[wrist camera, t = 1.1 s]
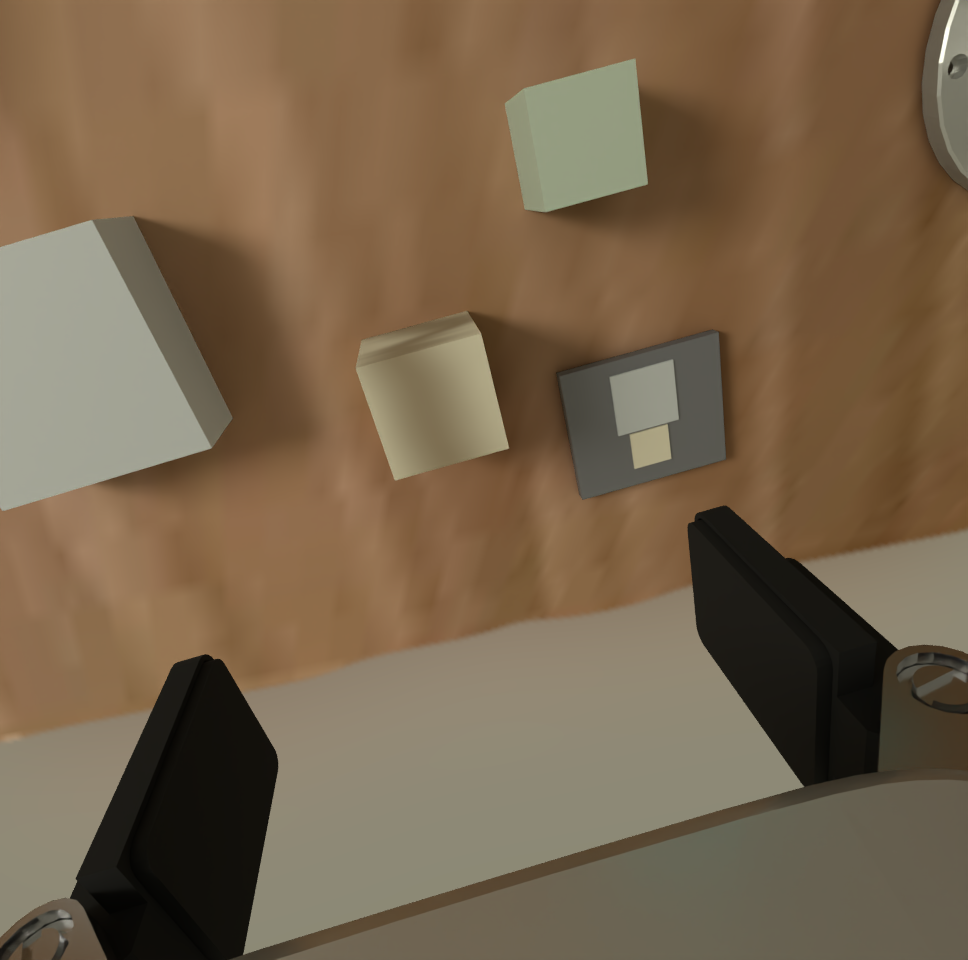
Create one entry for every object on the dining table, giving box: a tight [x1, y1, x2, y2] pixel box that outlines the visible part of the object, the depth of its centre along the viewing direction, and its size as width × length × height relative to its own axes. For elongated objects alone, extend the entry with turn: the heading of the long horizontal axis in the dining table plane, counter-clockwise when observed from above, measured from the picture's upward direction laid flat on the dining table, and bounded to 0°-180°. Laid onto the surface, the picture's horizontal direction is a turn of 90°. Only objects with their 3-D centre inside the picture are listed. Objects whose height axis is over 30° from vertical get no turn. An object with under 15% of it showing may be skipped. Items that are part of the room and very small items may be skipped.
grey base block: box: [0, 216, 233, 511], centre depth 24 cm, size 9×9×4 cm
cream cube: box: [356, 311, 509, 480], centre depth 26 cm, size 5×5×5 cm
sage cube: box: [505, 59, 648, 212], centre depth 23 cm, size 4×4×4 cm
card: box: [556, 330, 726, 500], centre depth 30 cm, size 8×7×1 cm
